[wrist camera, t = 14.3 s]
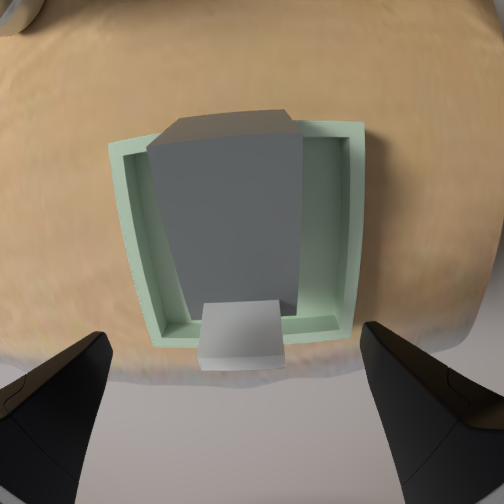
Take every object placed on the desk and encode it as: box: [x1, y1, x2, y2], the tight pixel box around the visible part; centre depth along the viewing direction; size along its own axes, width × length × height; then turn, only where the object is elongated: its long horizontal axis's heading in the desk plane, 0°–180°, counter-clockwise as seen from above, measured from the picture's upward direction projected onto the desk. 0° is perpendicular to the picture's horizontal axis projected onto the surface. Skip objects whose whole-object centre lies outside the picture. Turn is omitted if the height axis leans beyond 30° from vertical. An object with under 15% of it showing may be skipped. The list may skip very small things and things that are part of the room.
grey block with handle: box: [146, 110, 303, 371], centre depth 14 cm, size 6×10×10 cm, turn 4°
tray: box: [108, 120, 365, 348], centre depth 20 cm, size 16×16×3 cm
